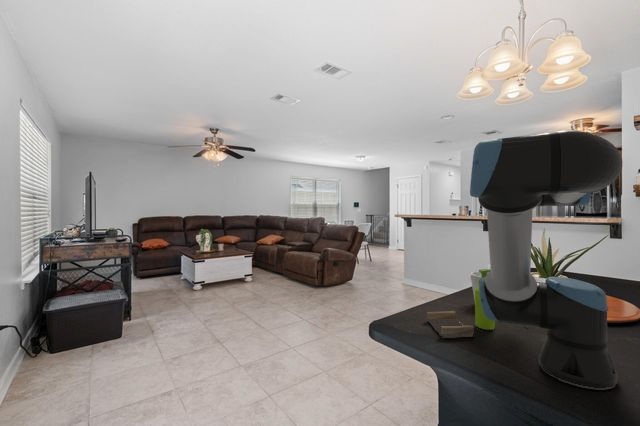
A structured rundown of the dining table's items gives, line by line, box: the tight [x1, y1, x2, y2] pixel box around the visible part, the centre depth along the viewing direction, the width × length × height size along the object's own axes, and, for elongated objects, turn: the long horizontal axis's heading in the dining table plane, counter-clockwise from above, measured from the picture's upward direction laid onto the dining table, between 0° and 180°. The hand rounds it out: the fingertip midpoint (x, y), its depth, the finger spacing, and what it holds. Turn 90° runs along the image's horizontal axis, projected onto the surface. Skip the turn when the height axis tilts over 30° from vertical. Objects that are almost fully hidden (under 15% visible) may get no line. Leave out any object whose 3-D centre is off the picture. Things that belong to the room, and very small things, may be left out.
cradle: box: [426, 310, 475, 335], centre depth 105 cm, size 14×10×4 cm
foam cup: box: [470, 271, 489, 301], centre depth 125 cm, size 10×9×13 cm
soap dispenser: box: [474, 268, 496, 329], centre depth 105 cm, size 6×7×20 cm
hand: (512, 291), depth 105 cm, fingers closed
